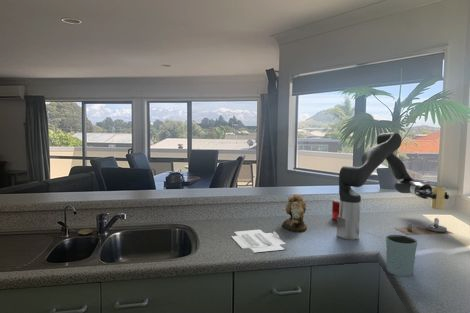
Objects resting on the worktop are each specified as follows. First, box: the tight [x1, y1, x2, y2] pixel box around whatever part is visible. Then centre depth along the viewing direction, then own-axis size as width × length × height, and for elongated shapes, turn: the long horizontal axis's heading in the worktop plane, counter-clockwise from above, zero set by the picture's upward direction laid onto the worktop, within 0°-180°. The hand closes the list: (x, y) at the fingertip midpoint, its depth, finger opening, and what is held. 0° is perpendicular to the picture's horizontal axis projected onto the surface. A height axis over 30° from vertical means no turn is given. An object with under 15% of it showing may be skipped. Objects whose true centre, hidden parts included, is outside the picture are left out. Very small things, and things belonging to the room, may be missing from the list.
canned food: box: [331, 198, 340, 222], centre depth 189 cm, size 8×8×11 cm
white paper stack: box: [230, 229, 287, 254], centre depth 153 cm, size 20×28×4 cm
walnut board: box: [394, 222, 454, 236], centre depth 166 cm, size 24×11×5 cm, turn 97°
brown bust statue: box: [281, 193, 308, 233], centre depth 174 cm, size 18×12×17 cm, turn 8°
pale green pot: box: [385, 234, 418, 277], centre depth 123 cm, size 10×10×12 cm
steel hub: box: [424, 217, 448, 233], centre depth 167 cm, size 9×9×6 cm
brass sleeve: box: [430, 186, 446, 211], centre depth 166 cm, size 5×5×10 cm
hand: (441, 197), depth 163 cm, fingers closed on brass sleeve, 5 cm apart
